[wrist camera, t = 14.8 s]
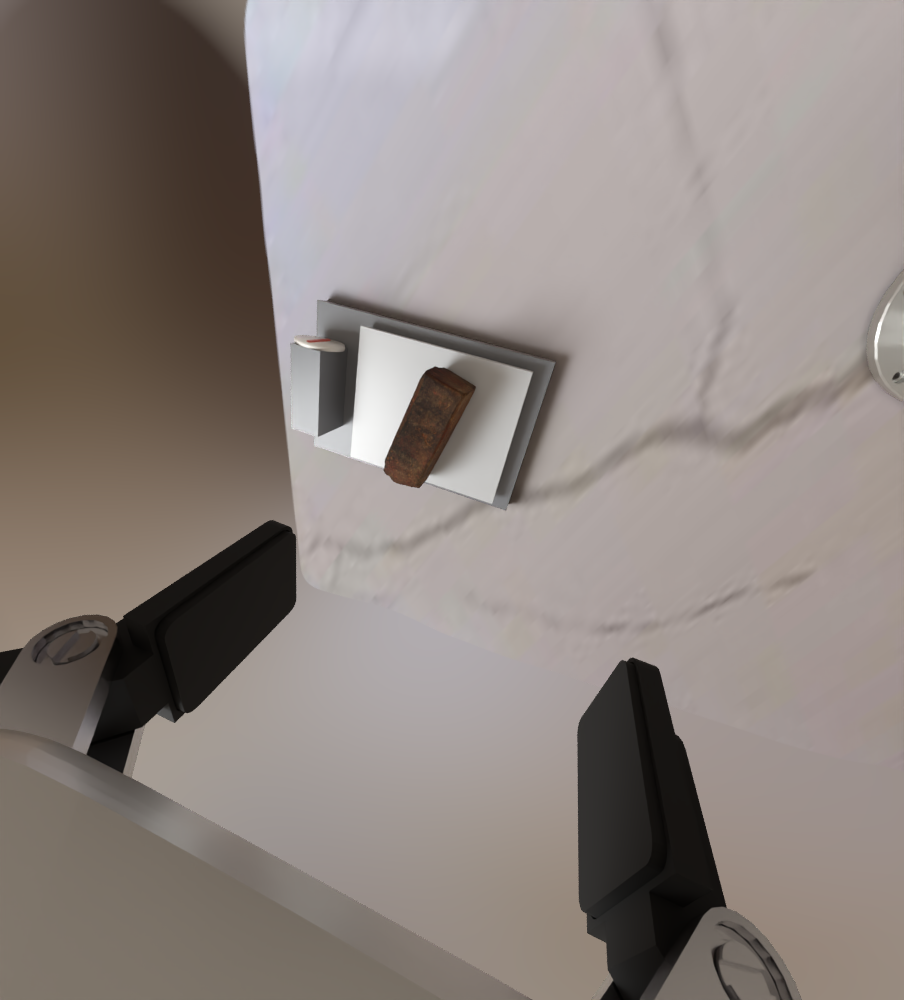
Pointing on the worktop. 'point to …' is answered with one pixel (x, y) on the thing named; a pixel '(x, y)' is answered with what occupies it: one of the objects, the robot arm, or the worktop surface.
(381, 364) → the scale
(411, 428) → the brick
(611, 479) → the worktop surface
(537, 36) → the worktop surface
